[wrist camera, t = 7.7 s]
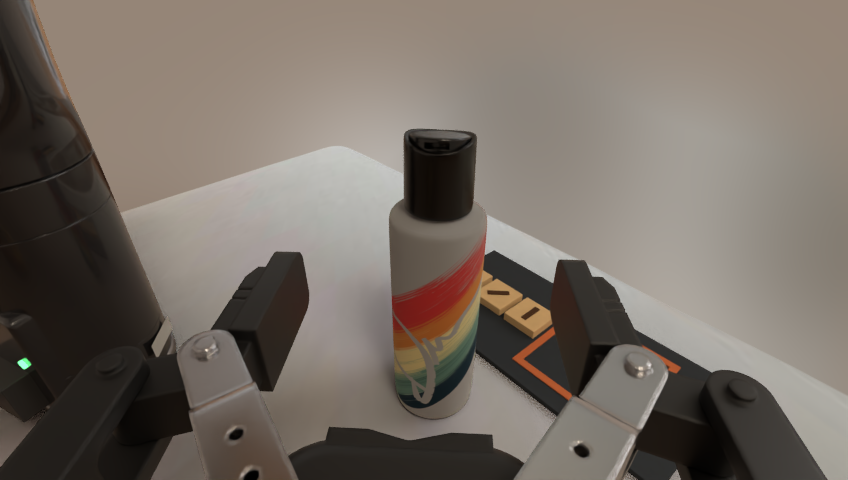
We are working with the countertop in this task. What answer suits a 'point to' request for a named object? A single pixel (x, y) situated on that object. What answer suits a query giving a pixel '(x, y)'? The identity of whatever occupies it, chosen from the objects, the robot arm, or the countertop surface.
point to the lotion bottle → (436, 272)
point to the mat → (546, 345)
